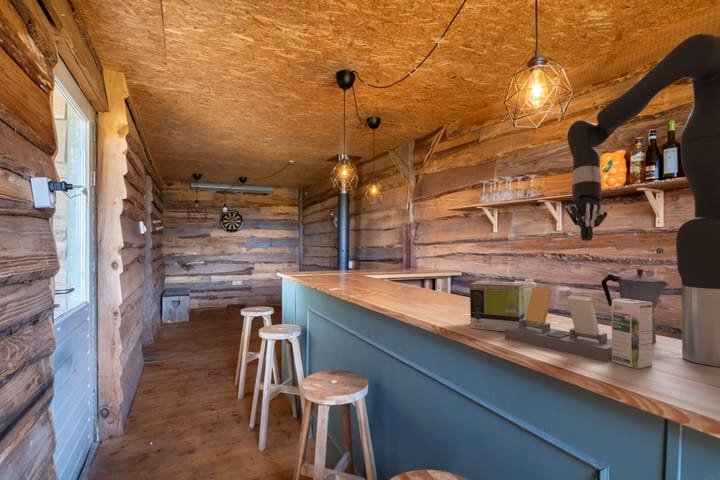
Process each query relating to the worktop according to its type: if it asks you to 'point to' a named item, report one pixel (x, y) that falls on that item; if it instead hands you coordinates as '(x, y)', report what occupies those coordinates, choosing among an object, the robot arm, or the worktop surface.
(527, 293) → the strainer
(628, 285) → the moka pot
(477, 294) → the tea box
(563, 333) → the toggle switch base
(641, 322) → the syrup box
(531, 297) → the toggle
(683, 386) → the worktop surface
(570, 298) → the toggle
